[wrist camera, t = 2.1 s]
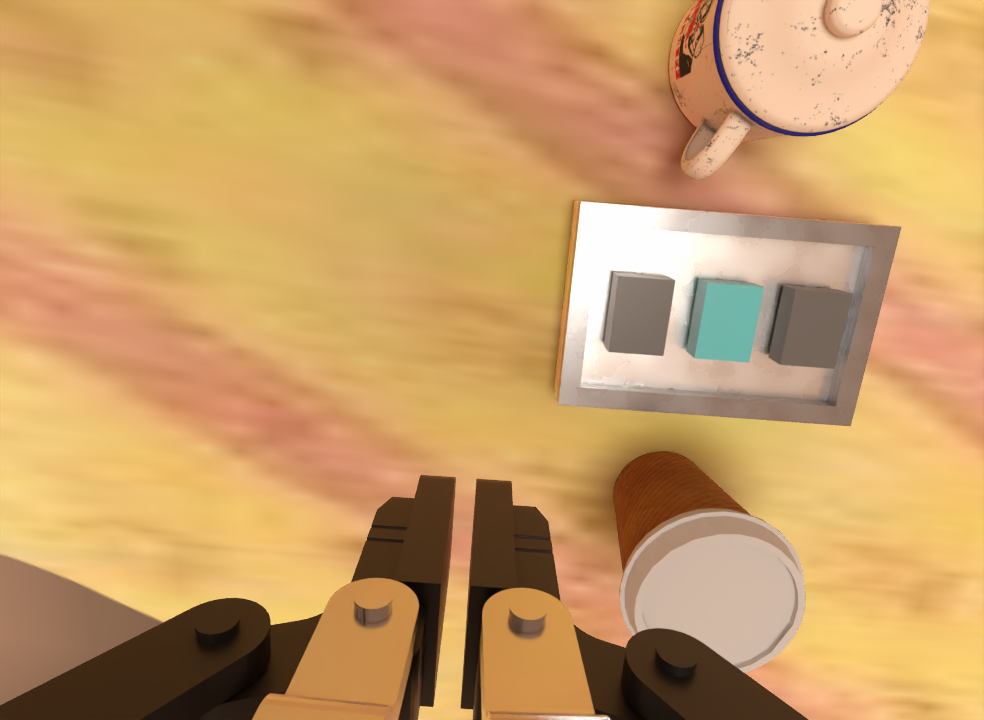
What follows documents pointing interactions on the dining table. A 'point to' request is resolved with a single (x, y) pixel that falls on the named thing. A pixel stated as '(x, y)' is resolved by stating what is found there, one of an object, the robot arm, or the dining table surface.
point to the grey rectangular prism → (638, 313)
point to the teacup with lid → (786, 68)
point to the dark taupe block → (809, 326)
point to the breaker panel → (686, 258)
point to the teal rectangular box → (724, 320)
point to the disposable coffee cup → (703, 563)
